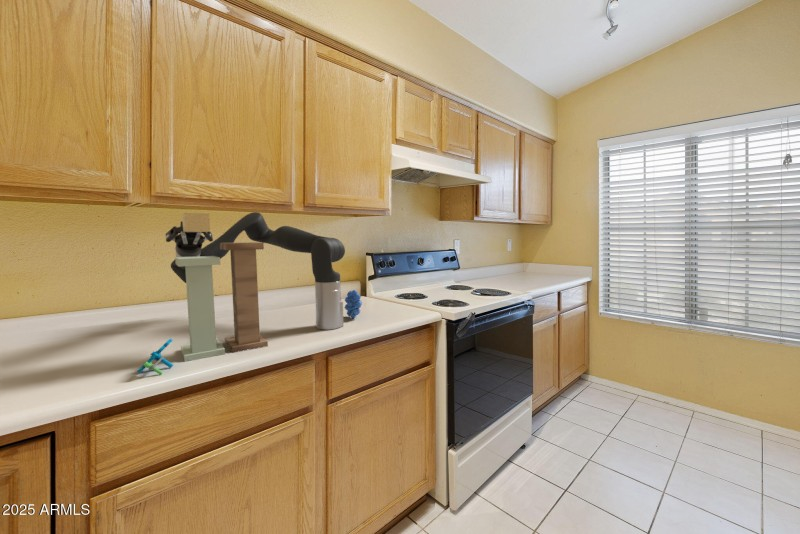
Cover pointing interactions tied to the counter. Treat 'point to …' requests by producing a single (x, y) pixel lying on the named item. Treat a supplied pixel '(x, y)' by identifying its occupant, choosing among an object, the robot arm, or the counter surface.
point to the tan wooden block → (195, 222)
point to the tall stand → (244, 296)
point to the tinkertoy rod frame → (159, 358)
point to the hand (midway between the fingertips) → (191, 222)
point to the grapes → (353, 303)
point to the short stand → (200, 307)
